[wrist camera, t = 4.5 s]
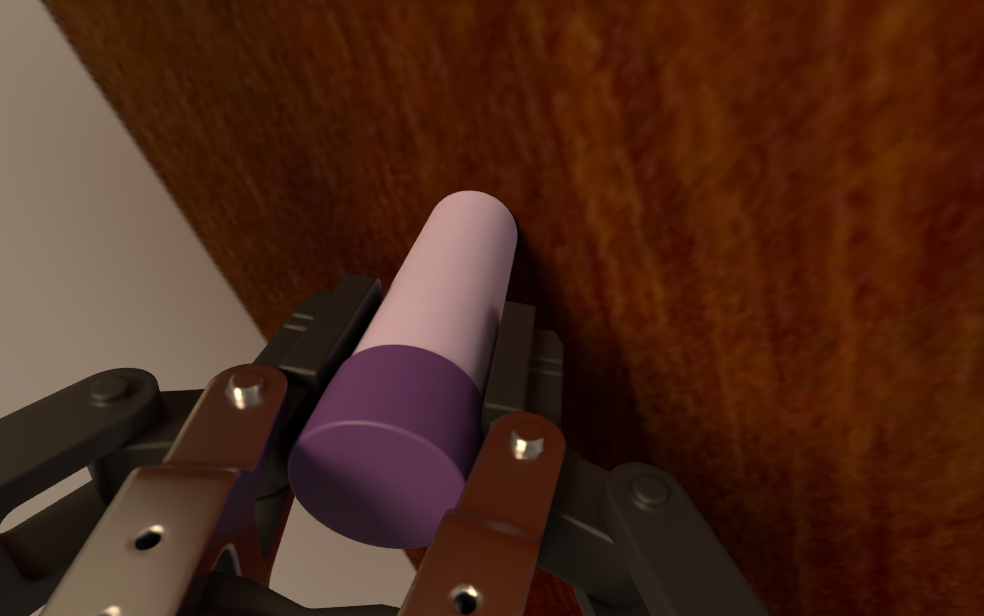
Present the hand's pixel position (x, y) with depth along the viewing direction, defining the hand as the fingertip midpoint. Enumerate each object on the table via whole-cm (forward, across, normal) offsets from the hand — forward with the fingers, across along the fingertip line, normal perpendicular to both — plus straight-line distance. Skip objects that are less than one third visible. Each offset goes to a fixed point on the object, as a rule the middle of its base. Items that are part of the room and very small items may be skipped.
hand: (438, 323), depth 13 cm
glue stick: (+5, 0, 0) cm, 5 cm away
